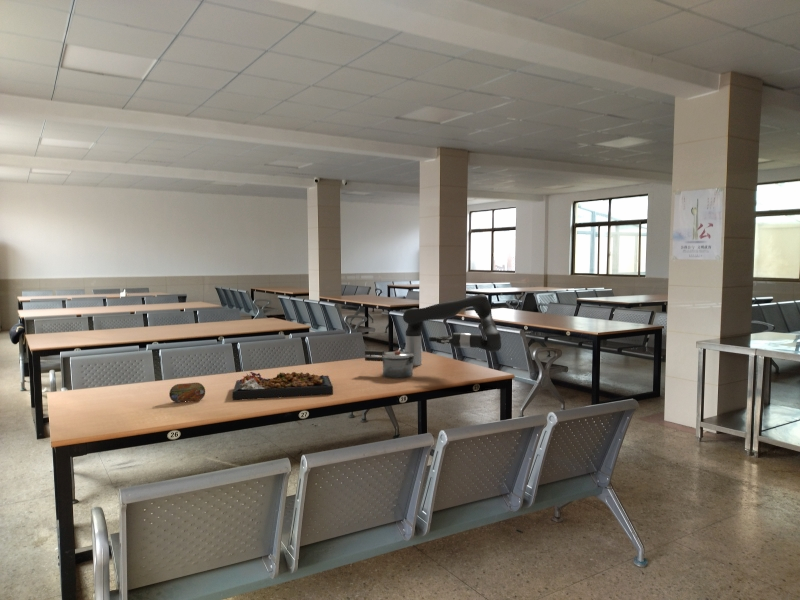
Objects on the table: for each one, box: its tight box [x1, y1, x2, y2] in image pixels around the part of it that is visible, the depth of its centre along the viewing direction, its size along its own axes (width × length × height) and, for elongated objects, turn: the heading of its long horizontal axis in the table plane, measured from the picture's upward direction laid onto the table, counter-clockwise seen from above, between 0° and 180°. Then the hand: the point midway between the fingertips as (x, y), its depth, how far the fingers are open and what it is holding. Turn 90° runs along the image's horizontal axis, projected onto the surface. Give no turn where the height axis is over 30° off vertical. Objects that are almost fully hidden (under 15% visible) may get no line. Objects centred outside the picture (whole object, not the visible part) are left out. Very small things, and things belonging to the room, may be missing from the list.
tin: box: [169, 382, 206, 403], centre depth 257 cm, size 15×3×8 cm, turn 106°
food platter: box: [232, 371, 334, 401], centre depth 275 cm, size 45×25×10 cm, turn 102°
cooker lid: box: [364, 349, 415, 359], centre depth 309 cm, size 27×17×3 cm, turn 73°
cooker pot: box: [364, 355, 415, 380], centre depth 310 cm, size 27×16×10 cm, turn 73°
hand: (429, 339), depth 302 cm, fingers closed
